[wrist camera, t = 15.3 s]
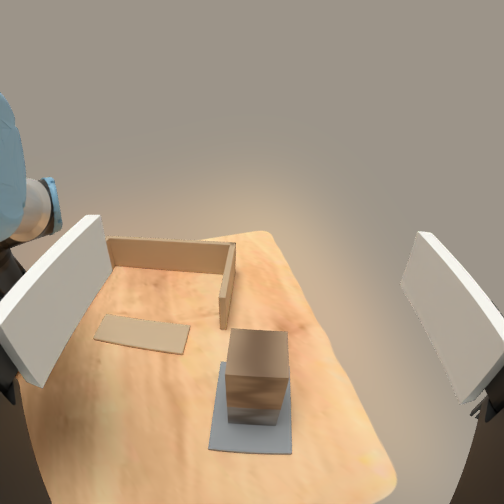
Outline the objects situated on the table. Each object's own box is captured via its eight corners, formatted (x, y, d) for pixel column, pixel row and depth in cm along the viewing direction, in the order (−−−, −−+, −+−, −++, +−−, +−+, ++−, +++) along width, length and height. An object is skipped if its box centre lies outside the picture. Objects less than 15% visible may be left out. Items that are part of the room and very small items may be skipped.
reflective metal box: (227, 423, 32) (224, 374, 25) (232, 385, 37) (231, 328, 30) (275, 425, 31) (289, 377, 25) (276, 388, 36) (287, 331, 30)
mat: (208, 449, 29) (208, 448, 28) (220, 363, 40) (220, 361, 40) (291, 454, 28) (291, 453, 28) (288, 367, 40) (289, 365, 40)
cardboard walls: (67, 333, 42) (52, 303, 38) (113, 262, 60) (107, 235, 57) (221, 359, 41) (219, 328, 37) (235, 272, 60) (235, 242, 56)
